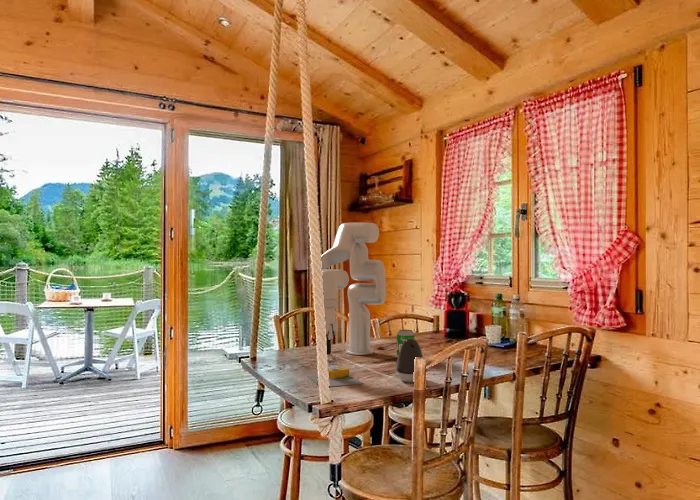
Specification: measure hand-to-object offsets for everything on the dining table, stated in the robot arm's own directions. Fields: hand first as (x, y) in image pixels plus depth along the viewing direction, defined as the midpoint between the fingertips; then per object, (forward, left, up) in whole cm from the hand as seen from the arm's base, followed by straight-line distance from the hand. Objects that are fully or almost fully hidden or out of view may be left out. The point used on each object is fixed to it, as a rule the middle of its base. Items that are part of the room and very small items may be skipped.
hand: (326, 354), depth 181 cm
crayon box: (-4, +1, -6) cm, 7 cm away
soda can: (-19, +43, -8) cm, 48 cm away
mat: (+6, +1, -8) cm, 11 cm away
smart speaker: (+16, +26, -8) cm, 32 cm away
